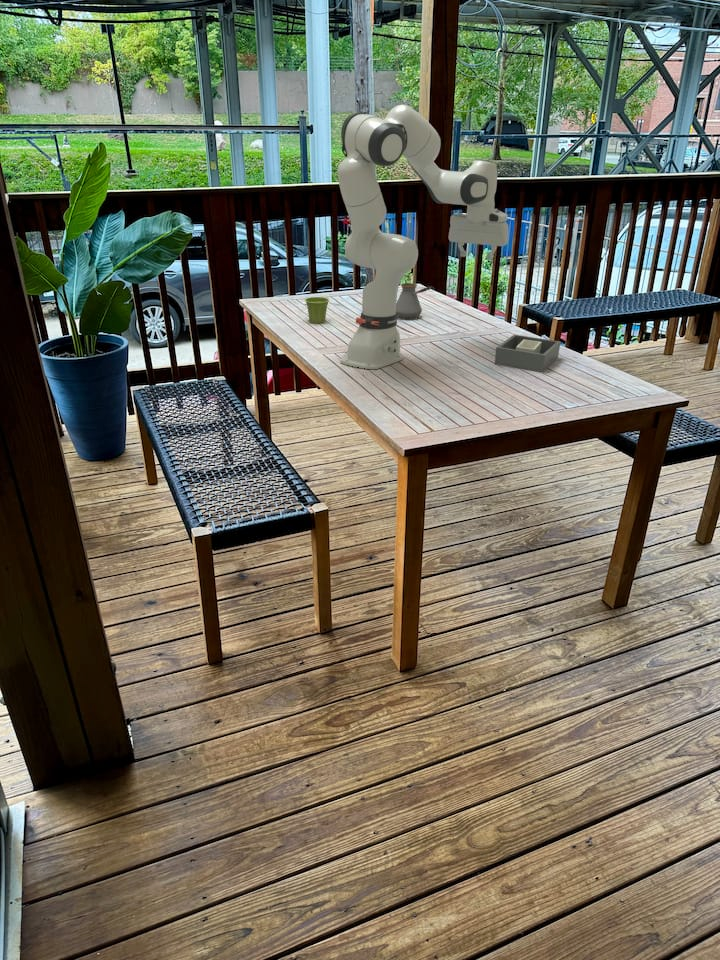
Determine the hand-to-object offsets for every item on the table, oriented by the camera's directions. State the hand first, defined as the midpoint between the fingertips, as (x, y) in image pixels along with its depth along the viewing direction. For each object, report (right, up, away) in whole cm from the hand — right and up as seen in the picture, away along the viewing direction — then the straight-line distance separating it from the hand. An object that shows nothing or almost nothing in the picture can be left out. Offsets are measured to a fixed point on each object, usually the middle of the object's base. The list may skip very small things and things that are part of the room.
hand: (476, 257), depth 222 cm
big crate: (+16, -37, -5) cm, 40 cm away
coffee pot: (-18, -11, +41) cm, 46 cm away
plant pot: (-56, -13, +35) cm, 68 cm away
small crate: (+16, -36, -6) cm, 39 cm away
